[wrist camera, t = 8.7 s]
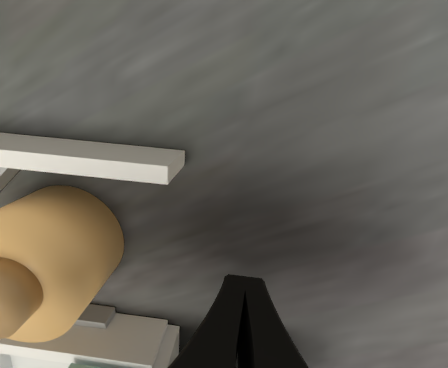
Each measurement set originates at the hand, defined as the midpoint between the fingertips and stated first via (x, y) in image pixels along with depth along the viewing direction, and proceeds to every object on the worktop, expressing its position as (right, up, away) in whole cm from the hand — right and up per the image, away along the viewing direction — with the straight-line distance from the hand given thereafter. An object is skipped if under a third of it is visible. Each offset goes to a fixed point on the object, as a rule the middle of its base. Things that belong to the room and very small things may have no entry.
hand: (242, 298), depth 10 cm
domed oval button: (-8, +2, +3) cm, 8 cm away
